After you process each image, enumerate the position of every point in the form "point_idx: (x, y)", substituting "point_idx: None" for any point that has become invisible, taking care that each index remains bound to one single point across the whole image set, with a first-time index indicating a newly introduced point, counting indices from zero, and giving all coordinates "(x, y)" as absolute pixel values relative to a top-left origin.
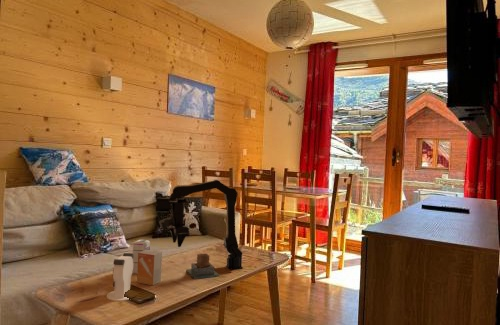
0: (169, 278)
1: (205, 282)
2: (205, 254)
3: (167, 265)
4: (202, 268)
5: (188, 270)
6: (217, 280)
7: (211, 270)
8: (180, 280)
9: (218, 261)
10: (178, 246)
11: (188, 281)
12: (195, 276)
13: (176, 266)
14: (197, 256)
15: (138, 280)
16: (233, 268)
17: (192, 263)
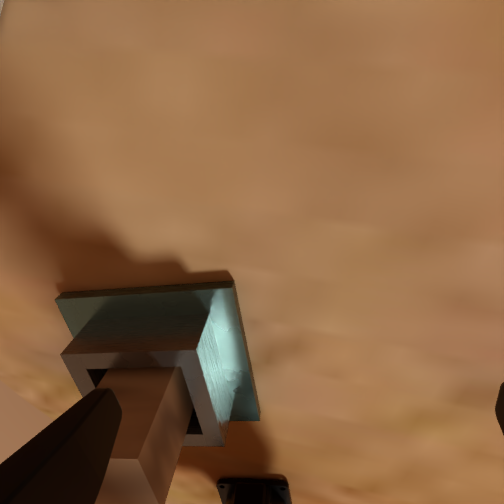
0: (69, 132)
1: (15, 335)
2: (126, 499)
3: (454, 155)
4: (77, 384)
5: (208, 296)
6: (54, 389)
7: None
8: (31, 209)
9: (397, 477)
10: (89, 397)
11: (18, 255)
12: (74, 311)
13: (386, 231)
14: (135, 438)
15: None
16: (219, 491)
17: (197, 356)
